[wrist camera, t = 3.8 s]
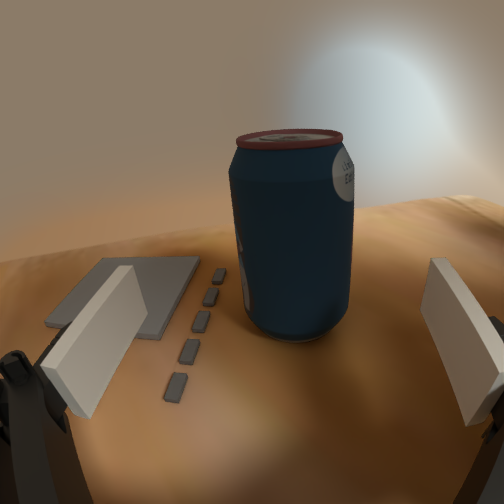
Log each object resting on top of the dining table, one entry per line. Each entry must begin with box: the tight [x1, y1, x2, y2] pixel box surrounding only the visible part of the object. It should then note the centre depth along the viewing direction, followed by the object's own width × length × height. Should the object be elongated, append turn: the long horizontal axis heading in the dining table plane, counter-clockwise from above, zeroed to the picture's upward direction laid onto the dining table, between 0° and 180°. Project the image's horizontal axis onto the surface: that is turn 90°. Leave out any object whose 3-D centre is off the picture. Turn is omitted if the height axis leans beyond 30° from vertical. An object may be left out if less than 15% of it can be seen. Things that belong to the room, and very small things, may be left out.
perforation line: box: [164, 268, 226, 403], centre depth 22 cm, size 1×14×1 cm, turn 173°
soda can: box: [229, 129, 354, 343], centre depth 19 cm, size 7×7×12 cm
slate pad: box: [44, 256, 200, 340], centre depth 26 cm, size 11×11×1 cm
